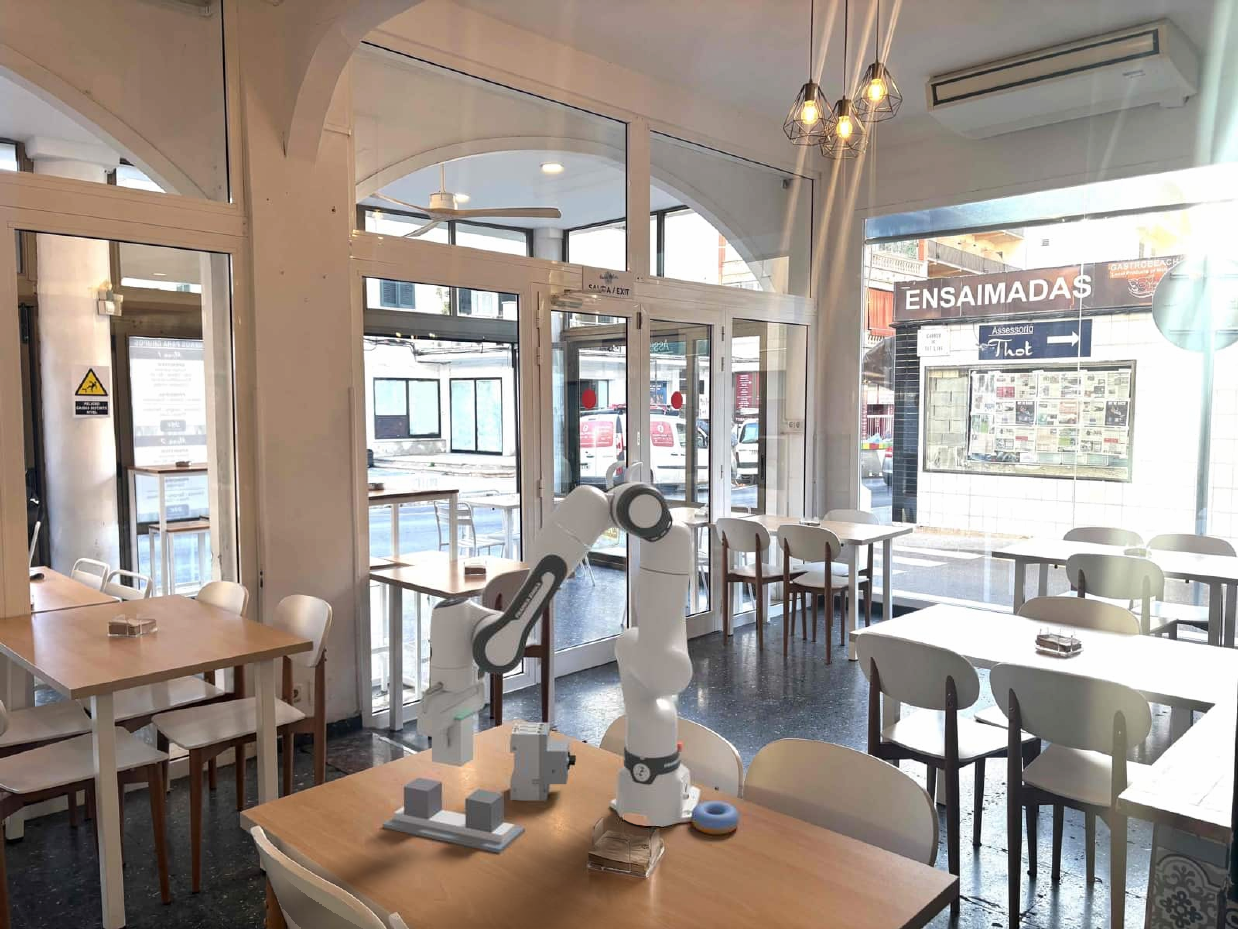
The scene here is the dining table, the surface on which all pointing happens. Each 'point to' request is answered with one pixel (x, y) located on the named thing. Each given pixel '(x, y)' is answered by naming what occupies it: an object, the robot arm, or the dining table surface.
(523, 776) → the circuit breaker
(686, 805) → the robot arm
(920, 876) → the dining table surface
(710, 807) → the doughnut
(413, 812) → the rail assembly
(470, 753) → the block
